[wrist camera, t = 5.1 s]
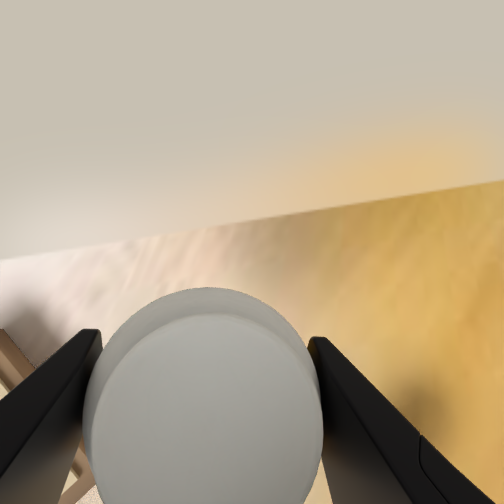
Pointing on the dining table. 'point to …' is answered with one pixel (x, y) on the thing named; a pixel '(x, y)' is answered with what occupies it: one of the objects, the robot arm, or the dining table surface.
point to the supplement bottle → (204, 405)
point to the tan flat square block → (7, 378)
